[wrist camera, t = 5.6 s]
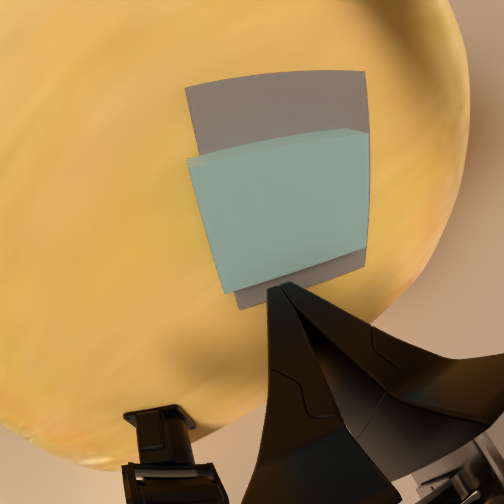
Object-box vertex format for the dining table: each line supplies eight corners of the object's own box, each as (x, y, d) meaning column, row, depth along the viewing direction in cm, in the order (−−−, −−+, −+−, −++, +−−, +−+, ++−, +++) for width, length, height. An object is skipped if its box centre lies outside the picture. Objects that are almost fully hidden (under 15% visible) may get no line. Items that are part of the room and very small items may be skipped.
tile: (217, 273, 16) (348, 232, 18) (224, 294, 15) (365, 247, 16) (186, 159, 12) (346, 128, 14) (188, 168, 11) (368, 133, 12)
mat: (361, 263, 20) (364, 266, 20) (238, 306, 19) (239, 310, 18) (360, 71, 12) (364, 71, 12) (184, 88, 11) (185, 87, 11)
